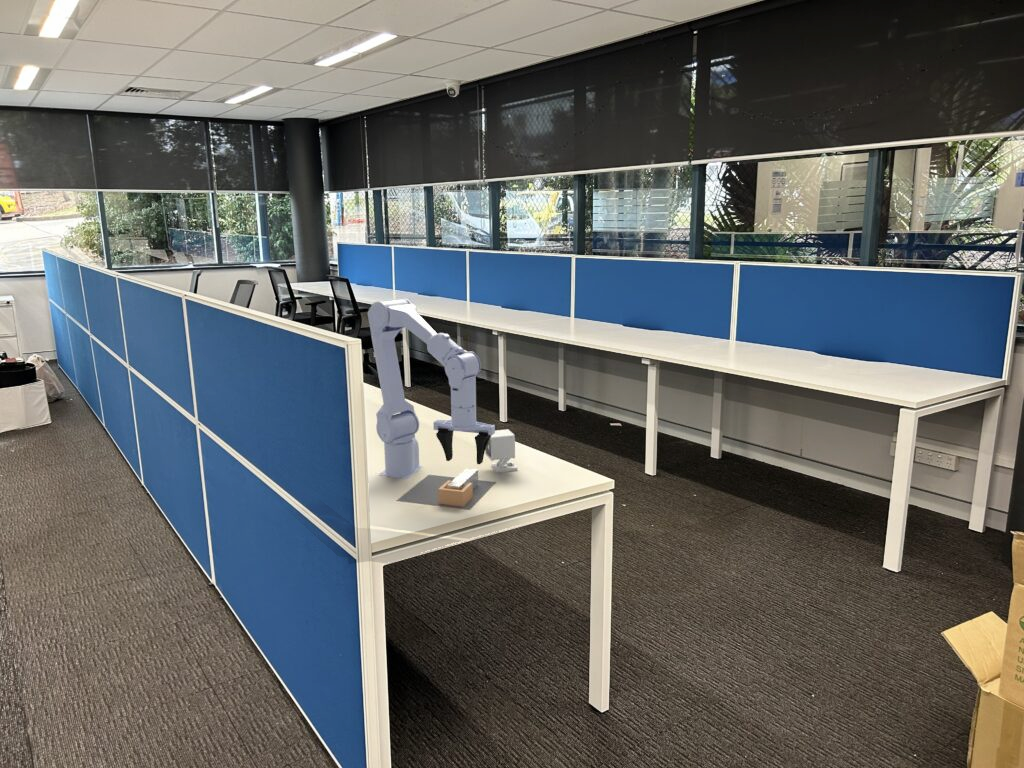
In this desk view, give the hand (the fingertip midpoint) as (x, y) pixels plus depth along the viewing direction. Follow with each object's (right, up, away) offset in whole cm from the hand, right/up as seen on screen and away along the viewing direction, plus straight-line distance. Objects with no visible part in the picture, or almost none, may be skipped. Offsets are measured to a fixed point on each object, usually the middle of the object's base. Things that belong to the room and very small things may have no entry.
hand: (464, 461), depth 173 cm
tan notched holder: (-2, -9, -4) cm, 9 cm away
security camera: (+8, -4, +18) cm, 20 cm away
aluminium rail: (0, -8, +1) cm, 7 cm away
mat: (-4, -8, +2) cm, 9 cm away
